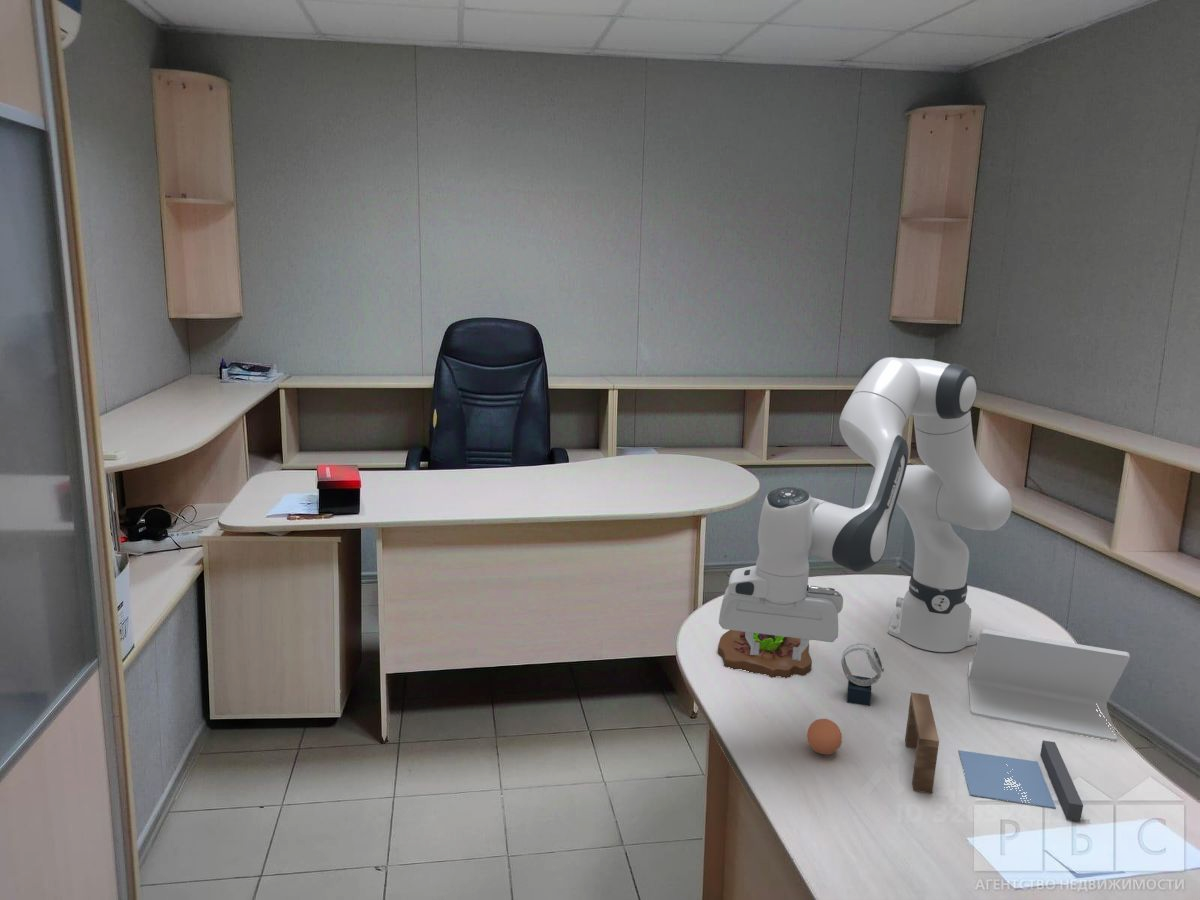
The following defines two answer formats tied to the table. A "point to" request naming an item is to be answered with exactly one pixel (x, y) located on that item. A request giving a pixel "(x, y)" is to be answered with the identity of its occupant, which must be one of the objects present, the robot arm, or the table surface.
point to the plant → (764, 654)
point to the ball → (824, 736)
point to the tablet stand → (1044, 683)
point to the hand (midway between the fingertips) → (775, 656)
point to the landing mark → (991, 771)
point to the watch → (856, 684)
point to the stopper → (1061, 781)
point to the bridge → (922, 741)
